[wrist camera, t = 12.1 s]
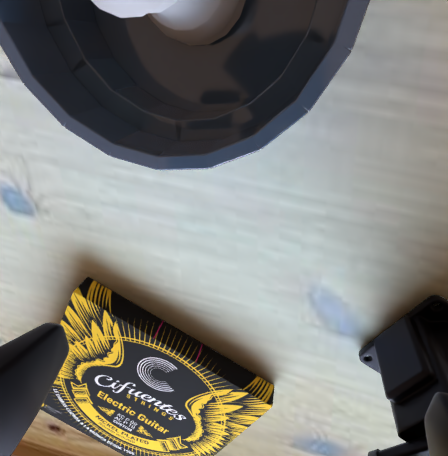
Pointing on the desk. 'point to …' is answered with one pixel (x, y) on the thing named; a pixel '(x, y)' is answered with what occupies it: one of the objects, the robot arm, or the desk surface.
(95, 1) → the rook chess piece
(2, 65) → the desk surface
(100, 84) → the basin
